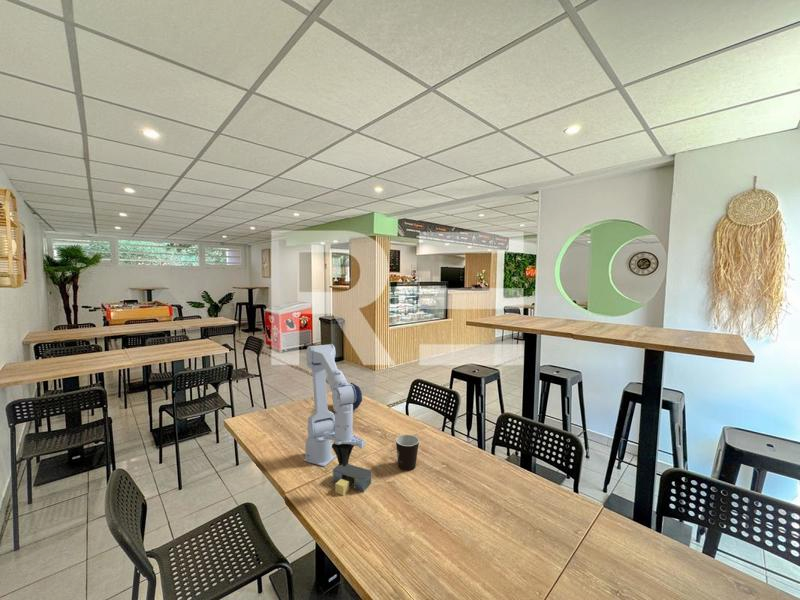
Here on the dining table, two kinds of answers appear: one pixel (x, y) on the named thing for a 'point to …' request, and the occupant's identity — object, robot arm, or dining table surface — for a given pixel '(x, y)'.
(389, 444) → the dining table surface
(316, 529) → the dining table surface
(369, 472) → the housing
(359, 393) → the decorative orb
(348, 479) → the plug
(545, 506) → the dining table surface
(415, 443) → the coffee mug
